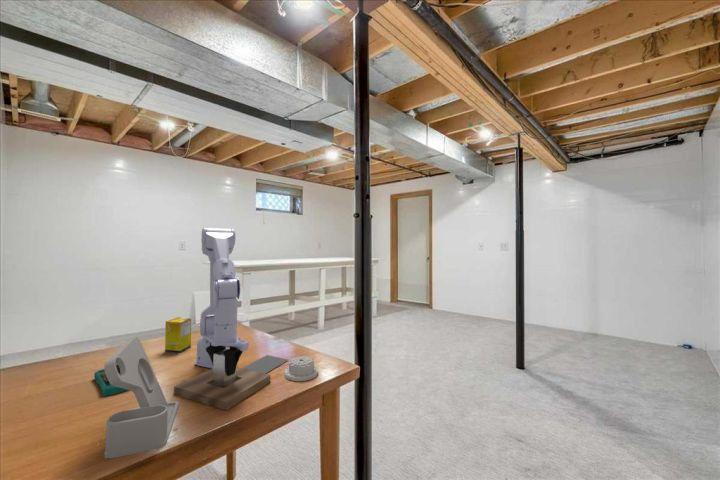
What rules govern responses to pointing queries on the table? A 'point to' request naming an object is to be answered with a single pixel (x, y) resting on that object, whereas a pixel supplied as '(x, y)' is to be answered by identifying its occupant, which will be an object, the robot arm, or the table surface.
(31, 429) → the table surface
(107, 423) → the phone holder
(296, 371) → the mechanical component
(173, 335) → the supplement box
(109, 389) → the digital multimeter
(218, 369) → the alloy block
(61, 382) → the table surface
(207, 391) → the pocket board
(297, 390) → the table surface
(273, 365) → the rubber mat
